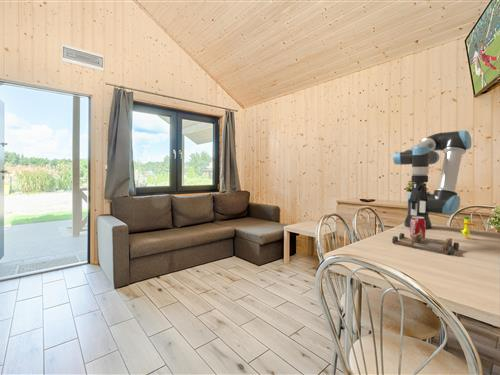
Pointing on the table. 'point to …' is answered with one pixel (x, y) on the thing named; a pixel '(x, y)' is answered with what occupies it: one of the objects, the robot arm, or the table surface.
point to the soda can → (417, 226)
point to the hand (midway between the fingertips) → (418, 213)
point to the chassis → (426, 244)
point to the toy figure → (466, 225)
